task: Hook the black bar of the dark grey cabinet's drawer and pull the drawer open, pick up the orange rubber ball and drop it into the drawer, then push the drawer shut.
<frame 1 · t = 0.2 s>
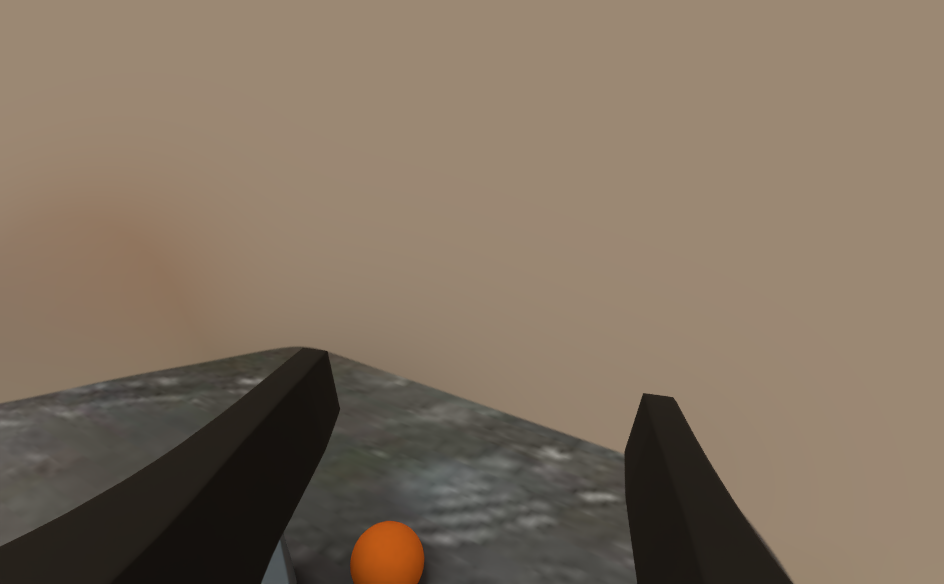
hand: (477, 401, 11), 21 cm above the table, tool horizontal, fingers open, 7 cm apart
ball: (387, 561, 27), point 2 cm above the table
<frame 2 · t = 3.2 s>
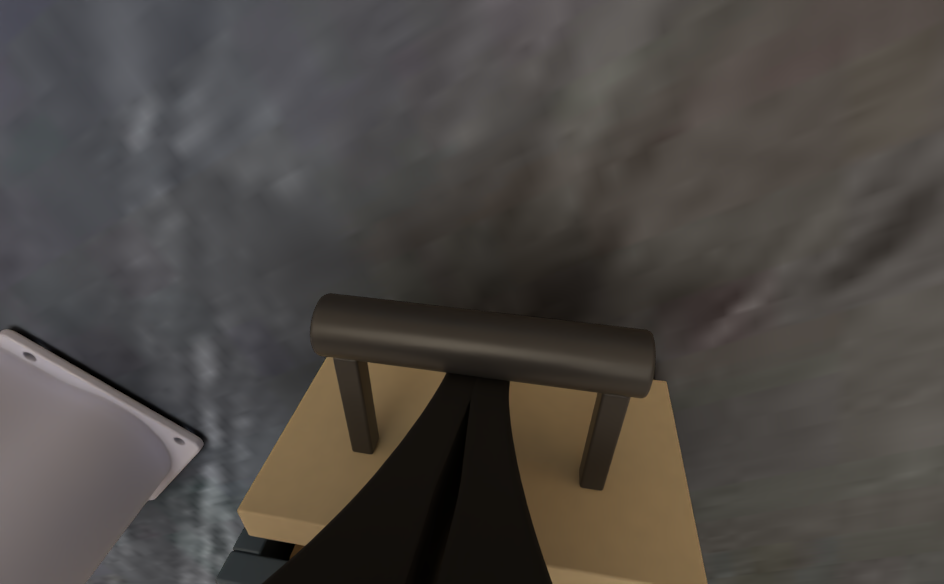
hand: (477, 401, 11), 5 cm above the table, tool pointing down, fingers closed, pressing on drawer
cabinet: (489, 485, 22), on the table
drawer: (477, 511, 16), point 4 cm above the table, slide at 0.6 cm, touching gripper
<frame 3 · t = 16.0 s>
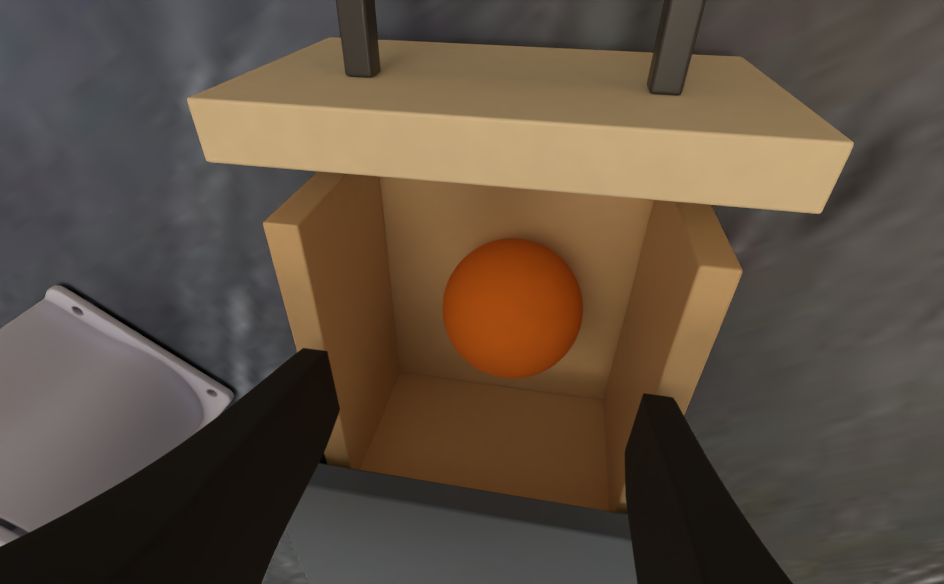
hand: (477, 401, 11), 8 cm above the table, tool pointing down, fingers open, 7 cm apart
ball: (511, 308, 14), point 4 cm above the table, tilted 13°, touching drawer
cabinet: (498, 432, 24), on the table
drawer: (502, 230, 13), point 4 cm above the table, slide at 9.1 cm, touching ball
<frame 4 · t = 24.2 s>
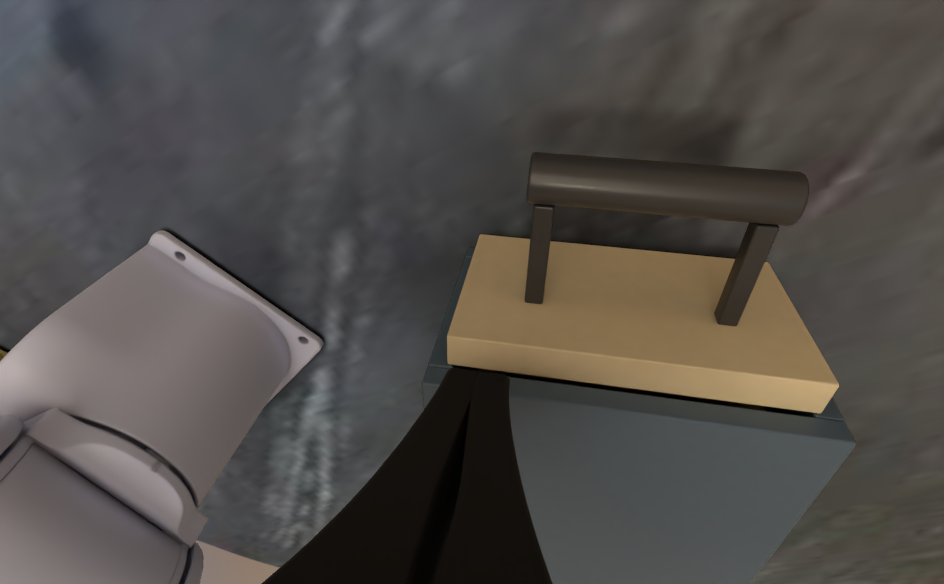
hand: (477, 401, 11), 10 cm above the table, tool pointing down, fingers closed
cabinet: (587, 376, 24), on the table
drawer: (605, 374, 19), point 4 cm above the table, slide at 0.0 cm, touching ball, cabinet
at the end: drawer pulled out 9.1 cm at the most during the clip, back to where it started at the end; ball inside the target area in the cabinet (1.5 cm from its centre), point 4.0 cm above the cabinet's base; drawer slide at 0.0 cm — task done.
